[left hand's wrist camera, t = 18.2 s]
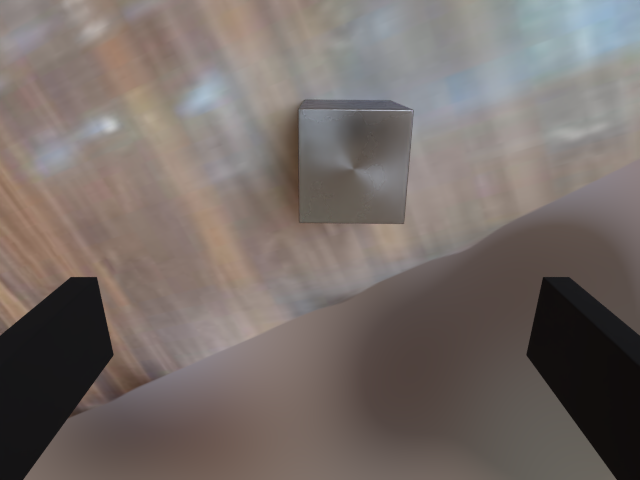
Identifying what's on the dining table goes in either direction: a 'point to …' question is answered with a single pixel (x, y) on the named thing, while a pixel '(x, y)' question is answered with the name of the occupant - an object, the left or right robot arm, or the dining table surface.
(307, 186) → the block
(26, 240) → the dining table surface
